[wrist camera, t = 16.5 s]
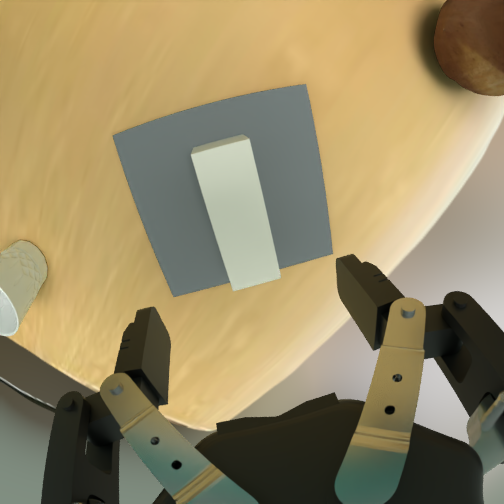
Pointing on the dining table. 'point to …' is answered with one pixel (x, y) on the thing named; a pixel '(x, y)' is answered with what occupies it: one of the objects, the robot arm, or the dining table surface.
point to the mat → (190, 195)
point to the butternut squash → (472, 44)
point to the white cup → (19, 283)
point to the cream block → (237, 210)
